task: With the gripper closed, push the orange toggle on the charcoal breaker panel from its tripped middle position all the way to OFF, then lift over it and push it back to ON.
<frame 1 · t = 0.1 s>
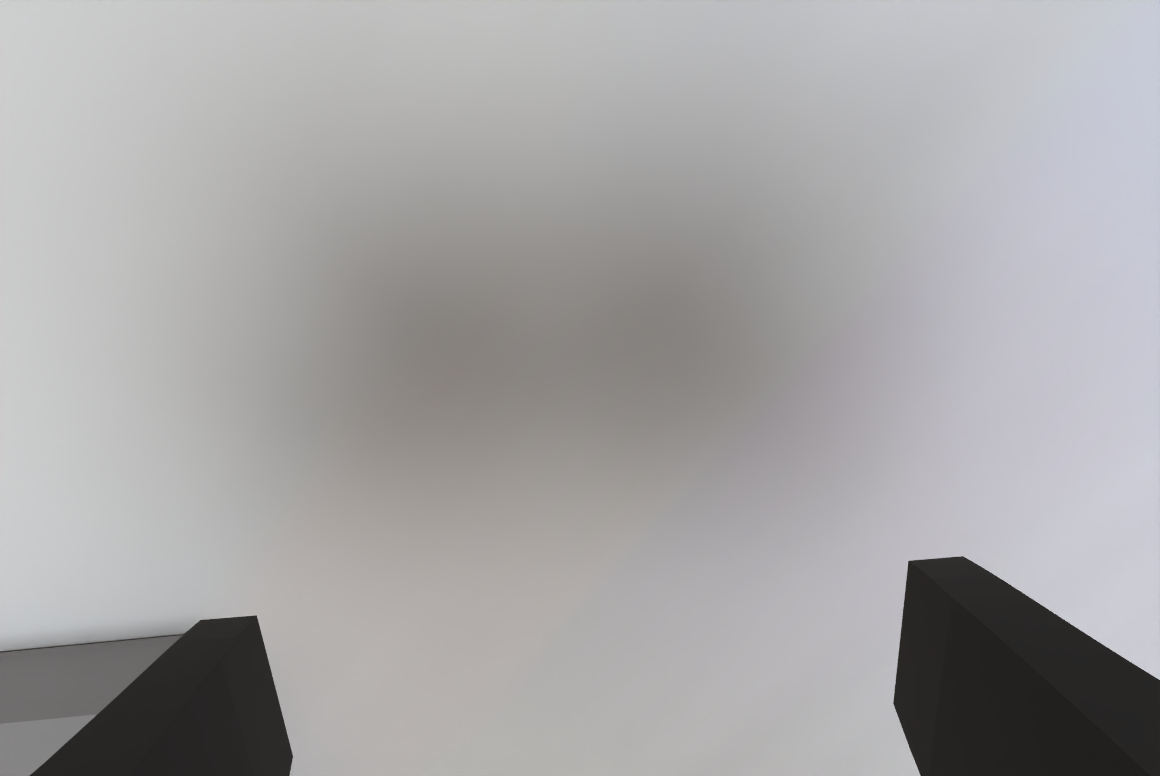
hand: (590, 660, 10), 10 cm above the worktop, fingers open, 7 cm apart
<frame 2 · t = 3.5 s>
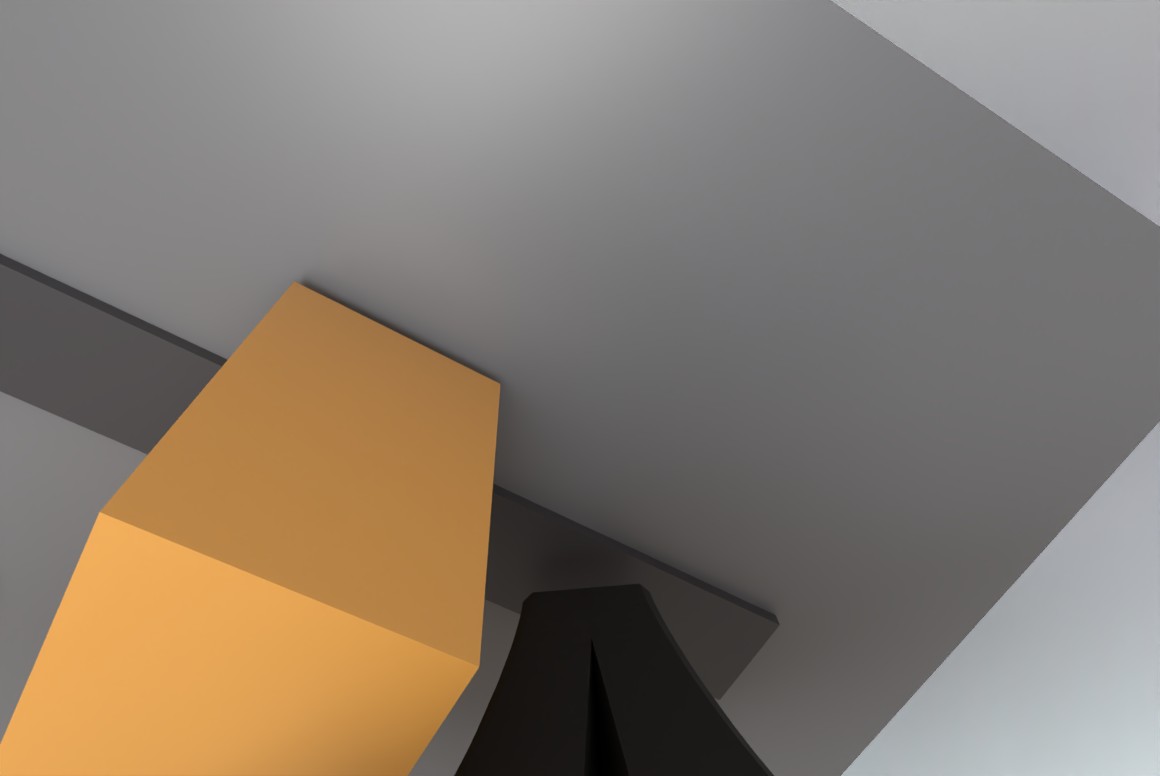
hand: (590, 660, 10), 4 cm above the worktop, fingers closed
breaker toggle: (271, 602, 8), point 5 cm above the worktop, slide at 4.4 cm, touching gripper
breaker panel: (329, 364, 12), on the worktop
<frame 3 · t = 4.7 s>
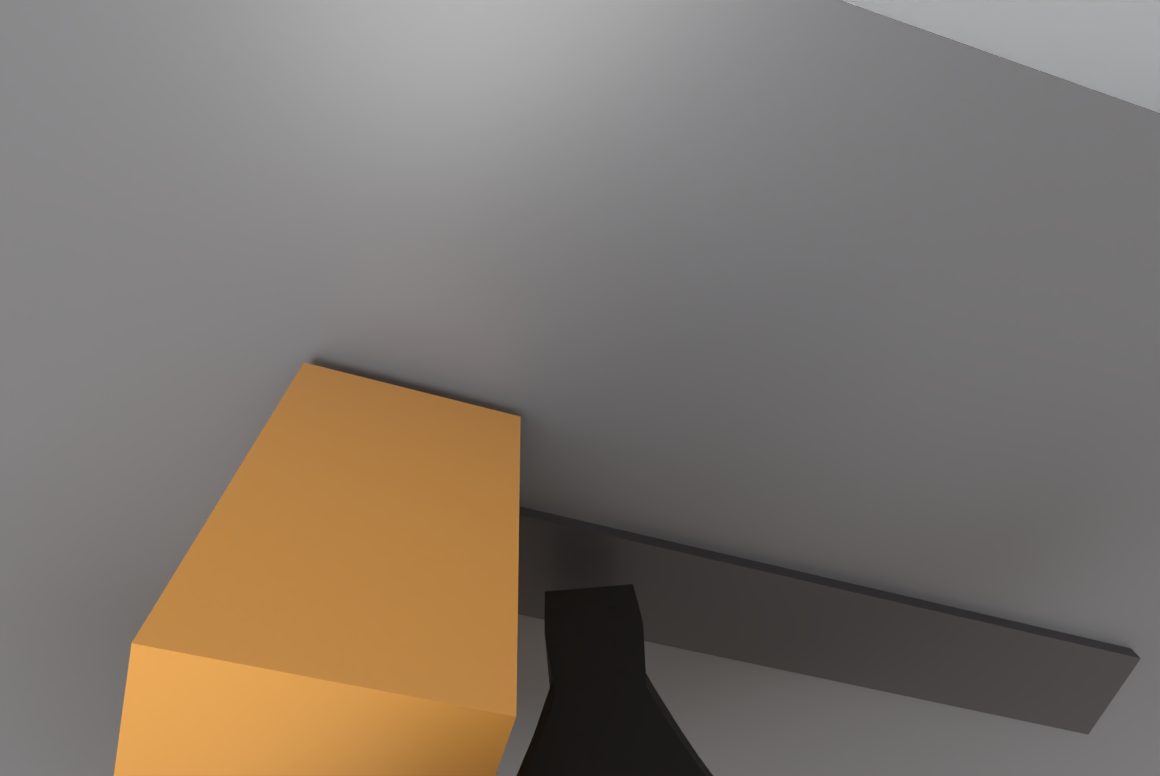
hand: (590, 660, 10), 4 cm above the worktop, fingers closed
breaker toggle: (339, 673, 8), point 5 cm above the worktop, slide at 8.7 cm, touching gripper
breaker panel: (646, 490, 14), on the worktop
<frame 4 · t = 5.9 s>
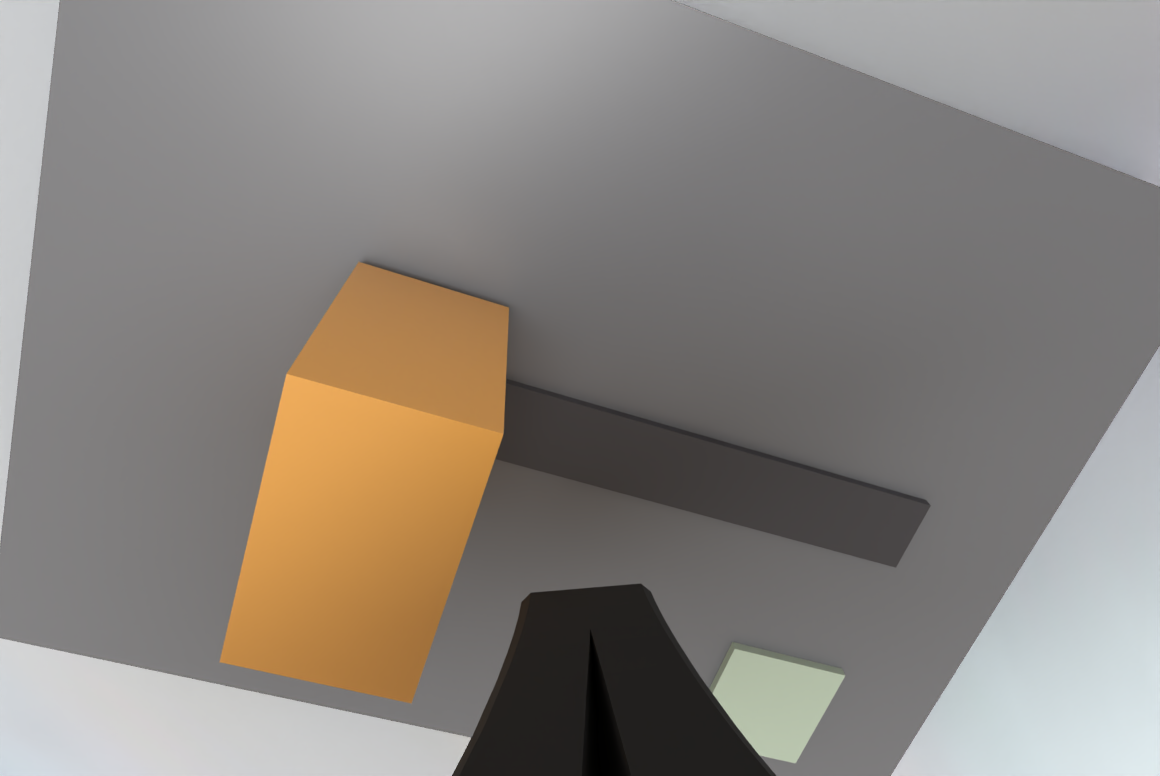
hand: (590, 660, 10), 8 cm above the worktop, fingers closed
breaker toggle: (382, 462, 12), point 5 cm above the worktop, slide at 8.1 cm
breaker panel: (571, 382, 18), on the worktop
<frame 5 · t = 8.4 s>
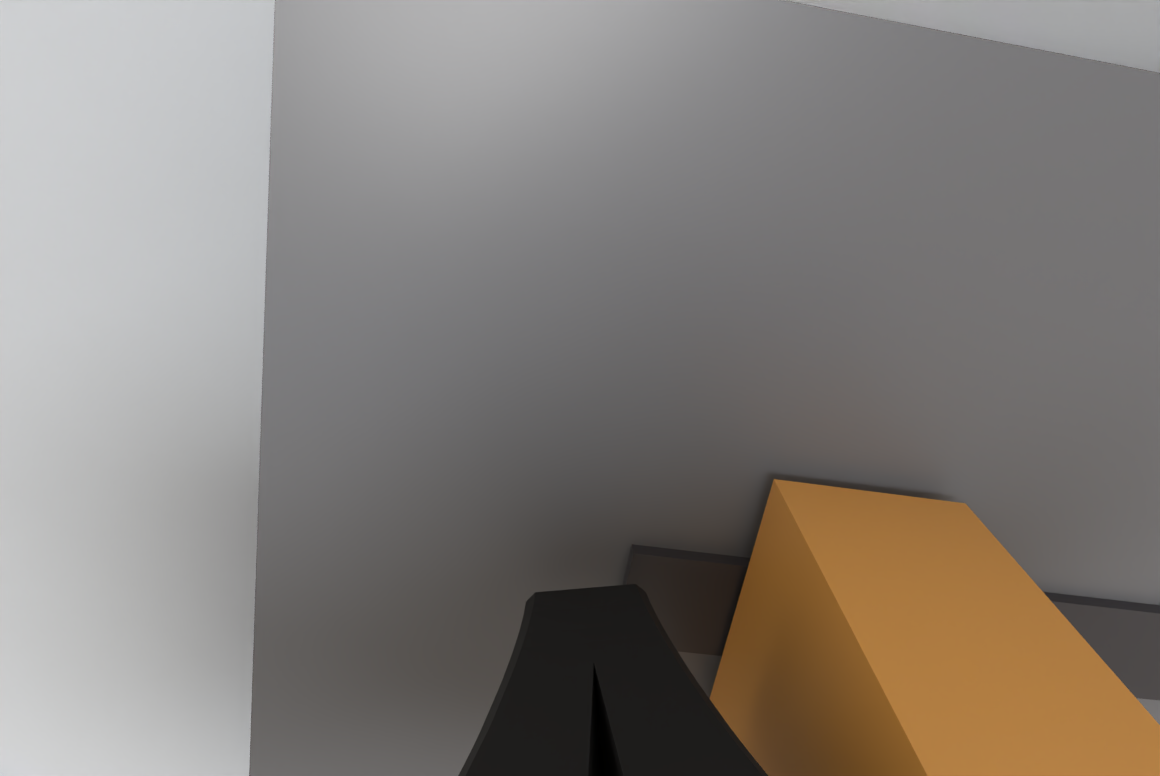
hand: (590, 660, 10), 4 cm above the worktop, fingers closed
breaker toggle: (891, 767, 9), point 5 cm above the worktop, slide at 6.9 cm, touching gripper
breaker panel: (883, 524, 14), on the worktop
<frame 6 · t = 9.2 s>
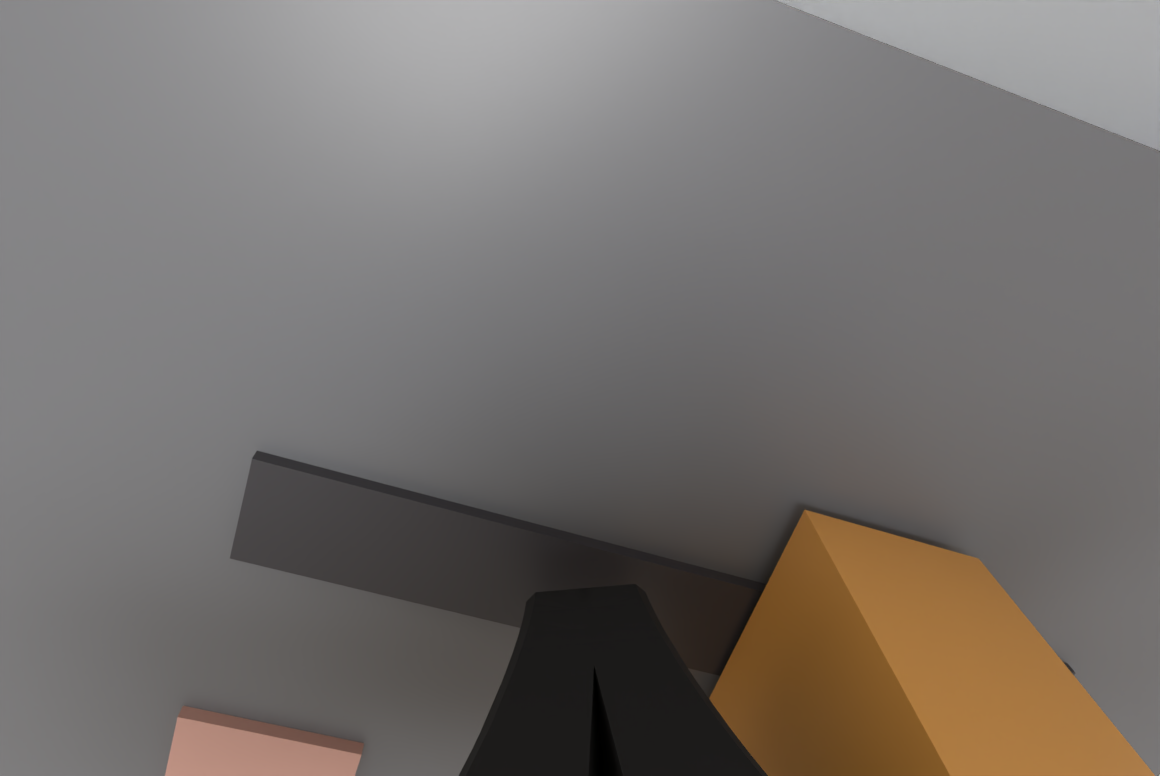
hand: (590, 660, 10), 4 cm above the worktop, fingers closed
breaker panel: (591, 491, 13), on the worktop
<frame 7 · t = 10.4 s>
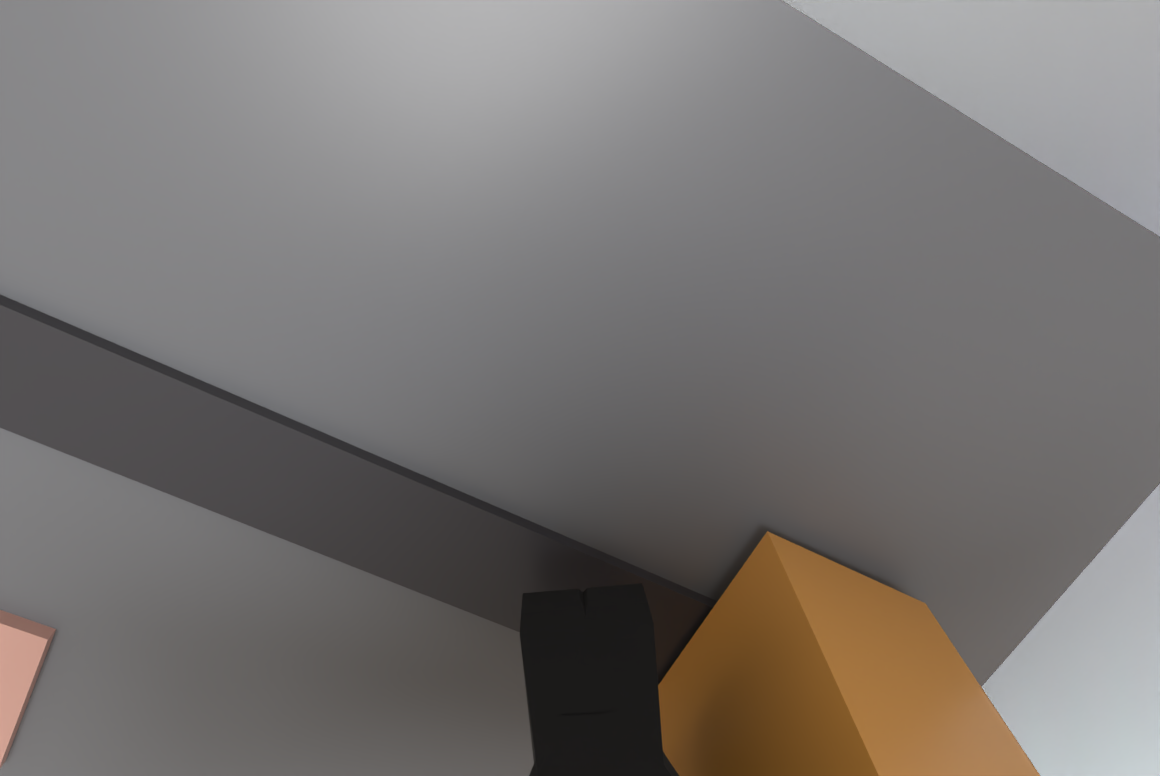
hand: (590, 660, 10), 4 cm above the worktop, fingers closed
breaker panel: (368, 406, 13), on the worktop
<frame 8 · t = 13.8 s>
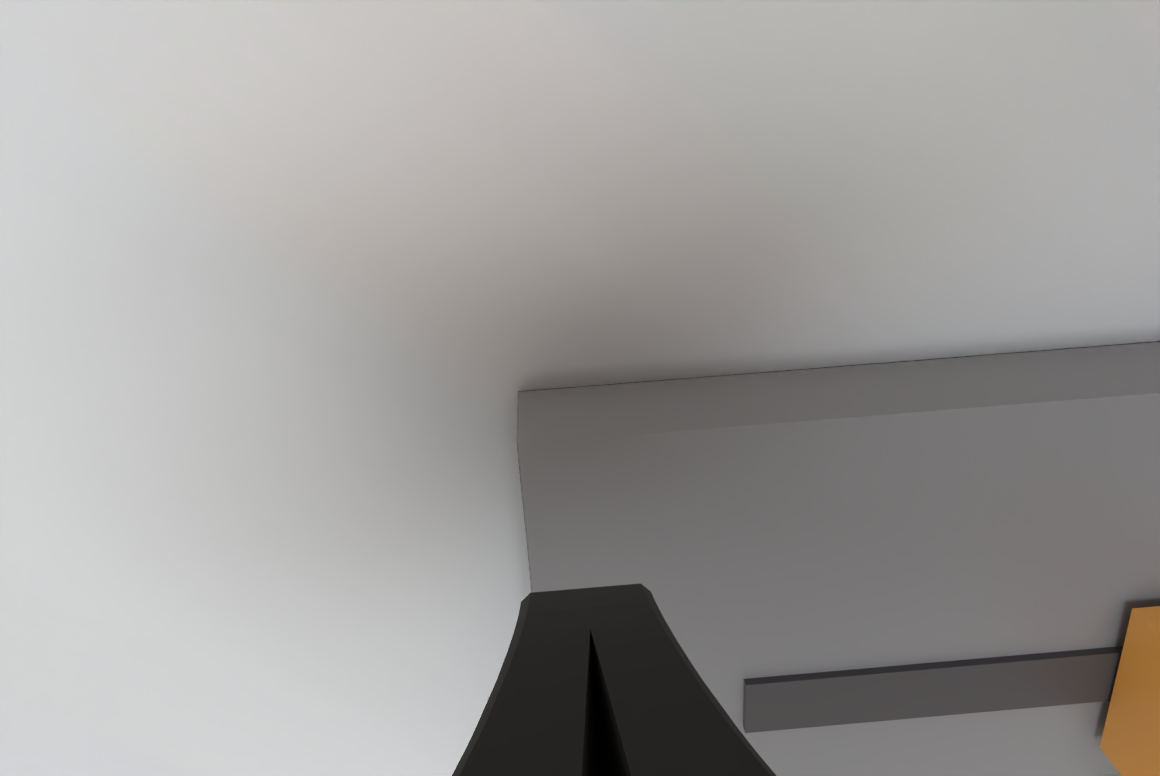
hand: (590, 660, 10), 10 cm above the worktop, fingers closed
breaker panel: (897, 615, 22), on the worktop
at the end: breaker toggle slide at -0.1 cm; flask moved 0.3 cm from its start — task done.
